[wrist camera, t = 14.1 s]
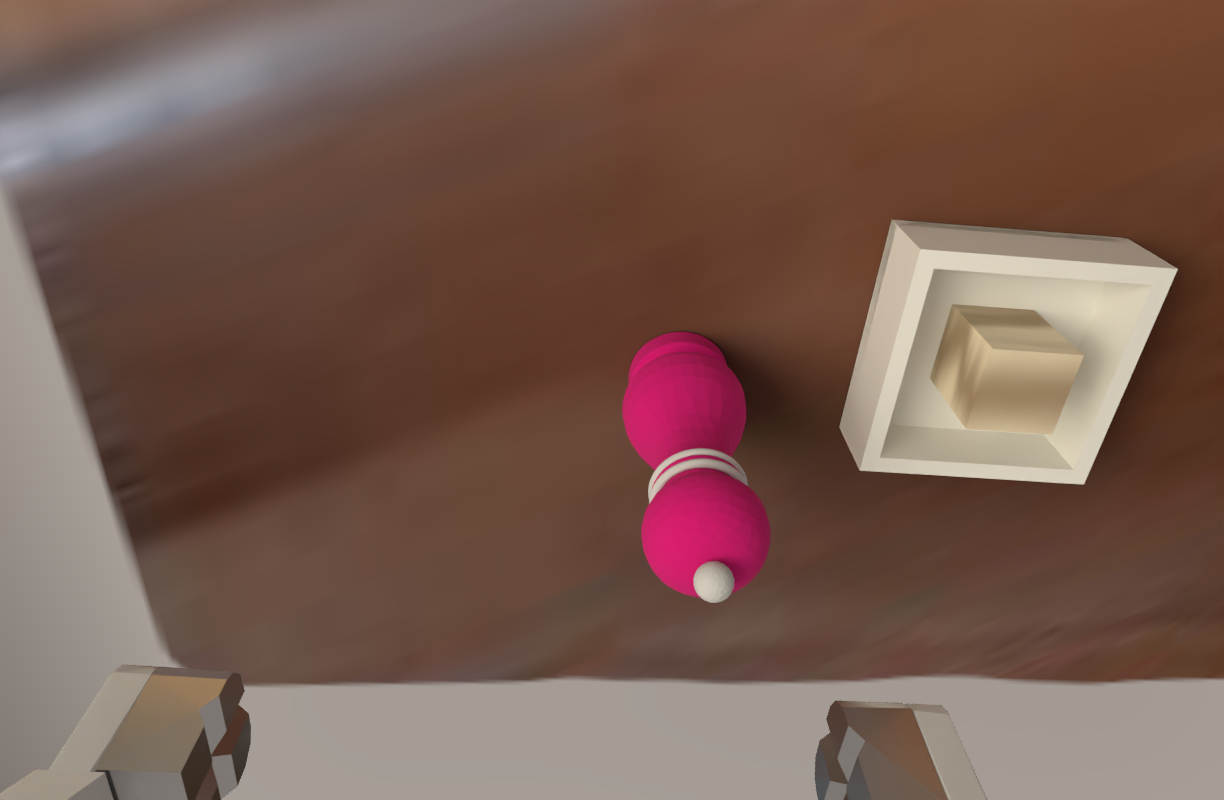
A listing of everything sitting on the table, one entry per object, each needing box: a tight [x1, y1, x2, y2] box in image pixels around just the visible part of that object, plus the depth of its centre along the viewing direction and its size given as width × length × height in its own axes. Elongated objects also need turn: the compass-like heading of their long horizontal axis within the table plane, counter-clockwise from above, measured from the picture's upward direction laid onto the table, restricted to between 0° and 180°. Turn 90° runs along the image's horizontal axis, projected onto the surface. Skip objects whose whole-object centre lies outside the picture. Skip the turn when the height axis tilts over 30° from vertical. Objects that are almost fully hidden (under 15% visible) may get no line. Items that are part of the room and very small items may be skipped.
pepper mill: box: [622, 332, 770, 603], centre depth 45 cm, size 7×7×20 cm
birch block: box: [930, 304, 1084, 435], centre depth 49 cm, size 5×5×6 cm
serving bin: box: [839, 220, 1178, 484], centre depth 50 cm, size 14×14×5 cm
